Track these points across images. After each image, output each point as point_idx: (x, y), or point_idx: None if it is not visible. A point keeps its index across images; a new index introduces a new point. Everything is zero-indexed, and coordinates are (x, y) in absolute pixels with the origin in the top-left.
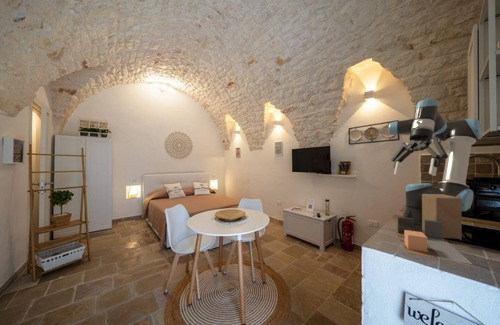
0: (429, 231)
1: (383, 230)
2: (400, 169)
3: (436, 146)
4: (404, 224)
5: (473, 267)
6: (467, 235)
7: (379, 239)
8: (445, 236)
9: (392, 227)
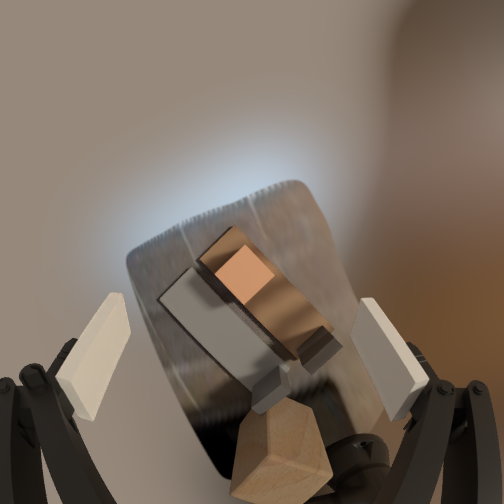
0: (271, 377)
1: None
2: (371, 370)
3: (4, 485)
4: (317, 343)
5: None
6: None
7: (322, 246)
8: None
9: None
